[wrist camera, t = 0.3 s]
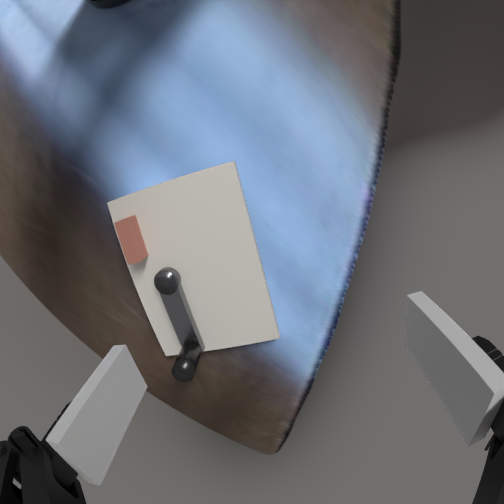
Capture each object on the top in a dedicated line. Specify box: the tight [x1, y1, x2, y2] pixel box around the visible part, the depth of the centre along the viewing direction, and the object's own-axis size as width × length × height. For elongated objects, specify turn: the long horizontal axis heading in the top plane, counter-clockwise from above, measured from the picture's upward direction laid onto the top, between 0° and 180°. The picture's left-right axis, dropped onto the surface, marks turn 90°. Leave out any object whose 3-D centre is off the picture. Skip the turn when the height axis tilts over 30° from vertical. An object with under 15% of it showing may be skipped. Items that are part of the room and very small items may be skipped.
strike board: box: [107, 161, 280, 356], centre depth 38 cm, size 26×19×5 cm
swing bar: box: [154, 267, 205, 382], centre depth 37 cm, size 14×4×8 cm, turn 14°
